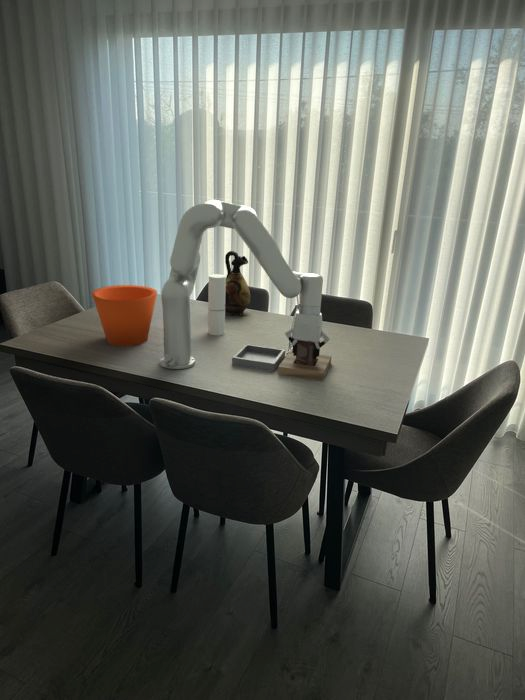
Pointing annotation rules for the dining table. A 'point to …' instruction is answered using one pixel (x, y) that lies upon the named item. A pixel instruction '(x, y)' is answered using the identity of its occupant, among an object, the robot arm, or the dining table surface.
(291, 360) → the socket board
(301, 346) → the box
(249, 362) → the tray
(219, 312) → the cylindrical container
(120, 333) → the flowerpot
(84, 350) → the dining table surface
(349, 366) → the dining table surface
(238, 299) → the ceramic jug
